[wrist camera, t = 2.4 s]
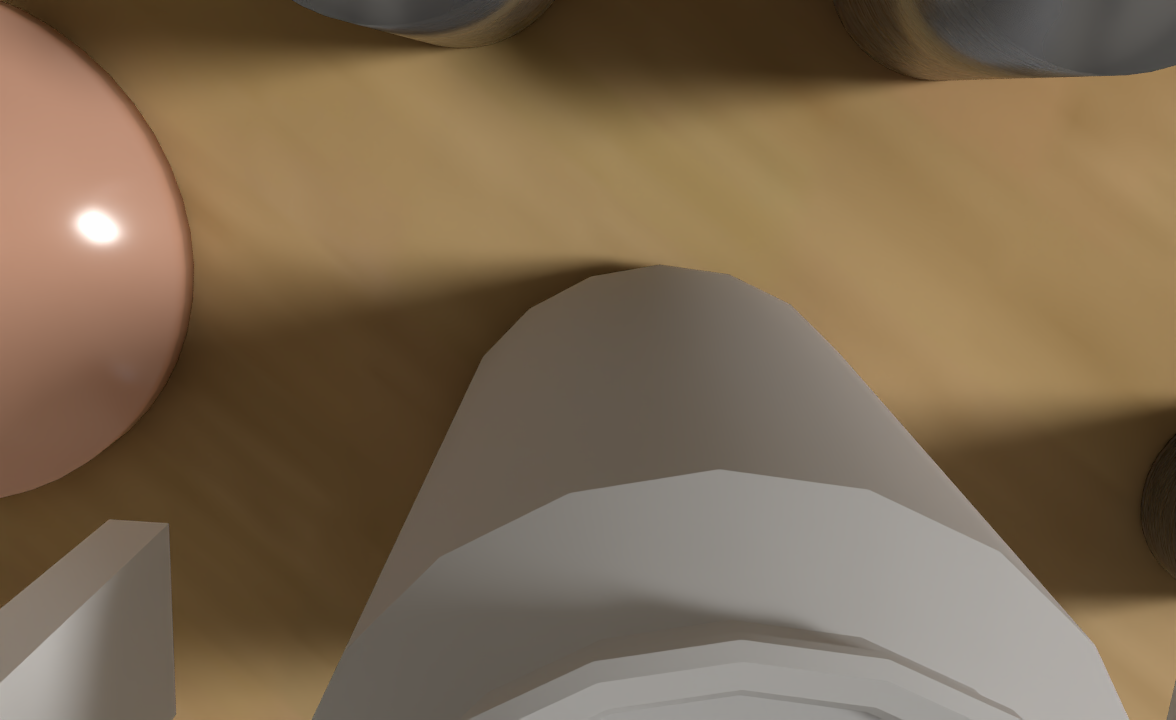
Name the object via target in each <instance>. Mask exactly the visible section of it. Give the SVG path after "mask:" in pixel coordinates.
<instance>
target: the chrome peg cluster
mask: <svg viewBox="0 0 1176 720" xmlns="http://www.w3.org/2000/svg"><path fill="white" fill-rule="evenodd" d="M293 1H294V2H296V3H298V4H300V5H301V6H303V7H306V8H308V9H310V10H313V11H315V12H317V13H320V14H322V15H324V16H328V17H331V18H335V19H338V20H342V21H346V22H349V23H353V24H357V25H361V26H365V27H368V28H372V29H376V30H380V31H384V32H388V33H391V34H395V35H399V36H403V37H407V38H411V39H414V40H418V41H422V42H426V43H430V44H434V45H437V46H444V47H451V48H472V47H479V46H485V45H489V44H493V43H496V42H500V41H502V40H504V39H506V38H509V37H511V36H513V35H515V34H517V33H518V32H520V31H522V30H523V29H525V28H527V27H528V26H529V25H531V24H532V23H533V22H534V21H535V20H537V19H538V18H539V17H540V16H541V15H542V14H543V13H544V12H545V11H546V10H547V9H548V8H549V7H550V6H551V4H552V3H553V2H554V0H293ZM833 3H834V6H835V9H836V11H837V13H838V15H839V18H840V20H841V22H842V24H843V25H844V27H845V28H846V30H847V31H848V33H849V34H850V36H851V37H852V39H853V40H854V41H855V42H856V43H857V44H858V45H859V46H860V48H861V49H862V50H863V51H865V52H866V53H867V54H868V55H869V56H870V57H872V58H873V59H874V60H876V61H877V62H879V63H880V64H882V65H884V66H885V67H887V68H889V69H891V70H893V71H896V72H898V73H900V74H903V75H907V76H910V77H914V78H918V79H925V80H978V79H1012V78H1046V77H1080V76H1115V75H1131V74H1138V73H1146V72H1152V71H1156V70H1159V69H1163V68H1167V67H1171V66H1175V65H1176V0H833ZM1141 519H1142V527H1143V532H1144V535H1145V538H1146V542H1147V544H1148V546H1149V548H1150V550H1151V552H1152V554H1153V555H1154V557H1155V558H1156V560H1157V561H1158V563H1159V564H1160V565H1161V566H1162V567H1163V568H1164V569H1165V570H1166V571H1167V572H1168V573H1169V574H1170V575H1171V576H1173V577H1174V578H1175V579H1176V435H1175V436H1174V437H1173V438H1172V439H1171V440H1170V441H1169V442H1168V443H1167V445H1166V446H1165V447H1164V449H1163V450H1162V451H1161V452H1160V454H1159V456H1158V457H1157V459H1156V461H1155V462H1154V464H1153V466H1152V468H1151V470H1150V473H1149V475H1148V477H1147V480H1146V484H1145V487H1144V490H1143V496H1142V503H1141Z"/></svg>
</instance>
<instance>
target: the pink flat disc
mask: <svg viewBox="0 0 1176 720" xmlns="http://www.w3.org/2000/svg"><path fill="white" fill-rule="evenodd" d="M193 282H194V261H193V251H192V242H191V232H190V228H189V224H188V219H187V215H186V211H185V207H184V202H183V199H182V196H181V193H180V190H179V188H178V185H177V182H176V179H175V177H174V174H173V171H172V169H171V166H170V164H169V162H168V160H167V158H166V156H165V154H164V152H163V150H162V148H161V146H160V144H159V142H158V140H157V138H156V136H155V135H154V133H153V131H152V130H151V128H150V127H149V125H148V124H147V122H146V121H145V119H144V118H143V116H142V115H141V113H140V112H139V110H138V109H137V107H136V106H135V104H134V103H133V102H132V101H131V100H130V98H129V97H128V96H127V95H126V94H125V92H124V91H123V90H122V89H121V88H120V87H119V85H118V84H117V83H116V82H115V81H114V80H113V78H112V77H111V76H110V75H109V74H108V73H107V72H106V71H105V70H104V69H103V68H102V67H101V66H100V65H98V64H97V63H96V62H95V61H94V60H93V59H92V58H91V57H90V56H89V55H88V54H87V53H86V52H85V51H83V50H82V49H81V48H80V47H78V46H77V45H76V44H74V43H73V42H72V41H70V40H69V39H67V38H66V37H65V36H63V35H62V34H61V33H59V32H58V31H57V30H55V29H54V28H53V27H51V26H49V25H47V24H46V23H44V22H42V21H40V20H39V19H37V18H35V17H33V16H32V15H30V14H28V13H26V12H25V11H23V10H21V9H19V8H17V7H15V6H12V5H10V4H7V3H5V2H3V1H0V498H2V497H6V496H10V495H14V494H18V493H22V492H26V491H30V490H33V489H35V488H38V487H40V486H43V485H45V484H48V483H50V482H53V481H55V480H57V479H60V478H62V477H63V476H65V475H67V474H68V473H70V472H72V471H73V470H75V469H77V468H79V467H80V466H82V465H84V464H85V463H87V462H88V461H90V460H91V459H92V458H94V457H95V456H97V455H98V454H99V453H101V452H102V451H104V450H105V449H106V448H108V447H109V446H110V445H112V444H113V443H114V442H115V441H117V440H118V439H119V438H120V437H122V436H123V435H124V434H125V433H127V432H128V431H129V430H130V429H131V428H132V427H133V426H134V425H135V424H136V423H137V421H138V420H139V419H140V418H141V417H142V416H143V415H144V414H145V413H146V412H147V411H148V410H149V408H150V407H151V405H152V404H153V403H154V401H155V400H156V398H157V397H158V395H159V394H160V392H161V391H162V389H163V388H164V386H165V385H166V383H167V381H168V379H169V377H170V375H171V373H172V371H173V369H174V367H175V364H176V362H177V360H178V358H179V355H180V352H181V349H182V346H183V343H184V340H185V336H186V333H187V330H188V325H189V319H190V313H191V307H192V301H193Z"/></svg>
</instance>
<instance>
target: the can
mask: <svg viewBox="0 0 1176 720" xmlns="http://www.w3.org/2000/svg"><path fill="white" fill-rule="evenodd" d="M312 720H1129V718H1128V716H1127V714H1126V712H1125V710H1124V707H1123V705H1122V703H1121V701H1120V699H1119V696H1118V694H1117V692H1116V690H1115V688H1114V685H1113V683H1112V681H1111V679H1110V677H1109V674H1108V672H1107V670H1106V668H1105V666H1104V664H1103V661H1102V659H1101V657H1100V655H1099V653H1098V650H1097V648H1096V646H1095V644H1094V643H1093V642H1092V641H1091V640H1090V639H1089V638H1088V636H1087V635H1086V634H1085V633H1084V632H1083V631H1082V630H1081V629H1080V627H1079V626H1078V625H1077V624H1076V623H1075V622H1074V621H1073V619H1072V618H1071V617H1070V616H1069V615H1068V614H1067V613H1066V611H1065V610H1064V609H1063V608H1062V607H1061V606H1060V605H1059V603H1058V602H1057V601H1056V600H1055V599H1054V598H1053V597H1052V595H1051V594H1050V593H1049V592H1048V591H1047V590H1046V589H1045V587H1044V586H1043V585H1042V584H1041V583H1040V582H1039V581H1038V579H1037V578H1036V577H1035V576H1034V575H1033V574H1032V573H1031V571H1030V570H1029V569H1028V568H1027V567H1026V566H1025V565H1024V563H1023V562H1022V561H1021V560H1020V559H1019V558H1018V557H1017V555H1016V554H1015V553H1014V552H1013V551H1012V550H1011V549H1010V547H1009V546H1008V545H1007V544H1006V543H1005V542H1004V541H1003V539H1002V538H1001V537H1000V536H999V535H998V534H997V533H996V532H995V530H994V529H993V528H992V527H991V526H990V525H989V524H988V522H987V521H986V520H985V519H984V518H983V517H982V516H981V514H980V513H979V512H978V511H977V510H976V509H975V508H974V506H973V505H972V504H971V503H970V502H969V501H968V500H967V498H966V497H965V496H964V495H963V494H962V493H961V492H960V490H959V489H958V488H957V487H956V486H955V485H954V484H953V482H952V481H951V480H950V479H949V478H948V477H947V476H946V474H945V473H944V472H943V471H942V470H941V469H940V468H939V466H938V465H937V464H936V463H935V462H934V461H933V460H932V458H931V457H930V456H929V455H928V454H927V453H926V452H925V450H924V449H923V448H922V447H921V446H920V445H919V444H918V442H917V441H916V440H915V439H914V438H913V437H912V436H911V435H910V433H909V432H908V431H907V430H906V429H905V428H904V427H903V425H902V424H901V423H900V422H899V421H898V420H897V419H896V417H895V416H894V415H893V414H892V413H891V412H890V411H889V409H888V408H887V407H886V406H885V405H884V404H883V403H882V401H881V400H880V399H879V398H878V397H877V396H876V395H875V393H874V392H873V391H872V390H871V389H870V388H869V387H868V385H867V384H866V383H865V382H864V381H863V380H862V379H861V377H860V376H859V375H858V374H857V373H856V372H855V371H854V369H853V368H852V367H851V366H850V365H849V364H848V363H847V361H846V360H845V359H844V358H843V357H842V356H841V355H840V353H839V352H838V351H837V350H836V349H835V348H834V347H833V346H832V345H831V344H830V343H829V342H828V341H827V340H826V339H825V338H824V337H823V336H822V335H821V334H820V333H819V332H818V331H817V330H816V329H815V328H814V327H813V326H812V325H811V324H810V323H809V322H808V321H807V320H806V319H804V318H803V317H802V316H801V315H800V314H799V313H798V312H797V311H796V310H795V309H794V308H793V307H792V306H791V305H790V304H788V303H786V302H784V301H782V300H780V299H778V298H776V297H774V296H772V295H770V294H768V293H766V292H764V291H762V290H760V289H758V288H756V287H754V286H752V285H749V284H747V283H745V282H743V281H741V280H739V279H737V278H735V277H733V276H731V275H729V274H723V273H715V272H708V271H701V270H694V269H687V268H680V267H673V266H665V265H655V266H649V267H643V268H637V269H632V270H626V271H620V272H614V273H608V274H603V275H597V276H591V277H589V278H587V279H585V280H583V281H581V282H579V283H577V284H575V285H574V286H572V287H570V288H568V289H566V290H564V291H562V292H560V293H558V294H556V295H554V296H553V297H551V298H549V299H547V300H545V301H543V302H541V303H539V304H537V305H535V306H534V307H532V308H530V309H529V310H528V311H527V312H526V313H525V314H524V315H523V316H522V317H521V318H520V319H519V320H518V321H517V322H516V323H515V324H514V325H513V326H512V327H511V328H510V329H509V330H508V331H507V332H506V333H505V334H504V335H503V336H502V338H501V339H500V340H499V341H498V342H497V343H496V344H495V345H494V346H493V347H492V348H491V349H490V350H489V351H488V352H487V353H486V354H485V355H484V356H483V358H482V360H481V362H480V364H479V366H478V368H477V370H476V373H475V375H474V377H473V379H472V381H471V383H470V385H469V387H468V389H467V392H466V394H465V396H464V398H463V400H462V402H461V404H460V406H459V408H458V411H457V413H456V415H455V417H454V419H453V421H452V423H451V425H450V428H449V430H448V432H447V434H446V436H445V438H444V440H443V442H442V444H441V447H440V449H439V451H438V453H437V455H436V457H435V459H434V461H433V464H432V466H431V468H430V470H429V472H428V474H427V476H426V478H425V481H424V483H423V485H422V487H421V489H420V491H419V493H418V495H417V498H416V500H415V502H414V504H413V506H412V508H411V510H410V512H409V515H408V517H407V519H406V521H405V523H404V525H403V527H402V529H401V531H400V534H399V536H398V538H397V540H396V542H395V544H394V546H393V548H392V551H391V553H390V555H389V557H388V559H387V561H386V563H385V565H384V568H383V570H382V572H381V574H380V576H379V578H378V580H377V582H376V585H375V587H374V589H373V591H372V593H371V595H370V597H369V599H368V602H367V604H366V606H365V608H364V610H363V612H362V614H361V616H360V618H359V621H358V623H357V625H356V627H355V629H354V631H353V633H352V635H351V638H350V640H349V642H348V644H347V646H346V648H345V650H344V652H343V655H342V657H341V659H340V661H339V663H338V665H337V667H336V669H335V672H334V674H333V676H332V678H331V680H330V682H329V684H328V686H327V688H326V691H325V693H324V695H323V697H322V699H321V701H320V703H319V705H318V708H317V710H316V712H315V714H314V716H313V718H312Z"/></svg>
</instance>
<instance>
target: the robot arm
mask: <svg viewBox="0 0 1176 720" xmlns="http://www.w3.org/2000/svg"><path fill="white" fill-rule="evenodd" d="M175 715H176V698H175V671H174V644H173V617H172V590H171V563H170V536H169V523H157V522H142V521H128V520H113V519H109V520H108V521H106V522H105V523H104V524H103V525H101V526H100V527H99V528H98V529H97V530H95V531H94V532H93V533H92V534H91V535H89V536H88V537H87V538H86V539H84V540H83V541H82V542H81V543H80V544H78V545H77V546H76V547H75V548H74V549H72V550H71V551H70V552H69V553H67V554H66V555H65V556H64V557H63V558H61V559H60V560H59V561H58V562H57V563H55V564H54V565H53V566H52V567H50V568H49V569H48V570H47V571H46V572H44V573H43V574H42V575H41V576H40V577H38V578H37V579H36V580H35V581H33V582H32V583H31V584H30V585H29V586H27V587H26V588H25V589H24V590H23V591H21V592H20V593H19V594H18V595H16V596H15V597H14V598H13V599H12V600H10V601H9V602H8V603H7V604H6V605H4V606H3V607H2V608H1V609H0V720H172V719H173V718H174V717H175ZM1167 720H1176V681H1175V686H1174V690H1173V694H1172V699H1171V703H1170V707H1169V712H1168V716H1167Z"/></svg>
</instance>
